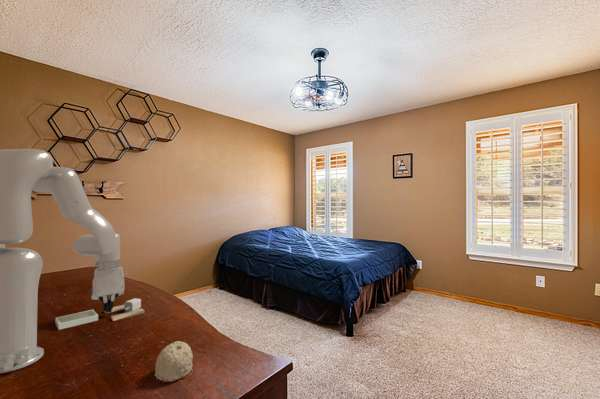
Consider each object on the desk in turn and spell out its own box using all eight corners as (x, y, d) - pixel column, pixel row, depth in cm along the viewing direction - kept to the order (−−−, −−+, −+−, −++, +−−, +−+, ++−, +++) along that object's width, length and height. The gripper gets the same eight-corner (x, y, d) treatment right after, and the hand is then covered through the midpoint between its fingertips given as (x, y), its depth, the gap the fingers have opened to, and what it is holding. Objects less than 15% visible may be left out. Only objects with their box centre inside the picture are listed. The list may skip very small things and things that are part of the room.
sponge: (193, 384, 78) (201, 343, 83) (183, 382, 70) (192, 337, 76) (159, 384, 77) (168, 343, 83) (144, 382, 70) (156, 337, 75)
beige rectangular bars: (144, 313, 116) (144, 310, 116) (113, 320, 108) (113, 318, 108) (133, 304, 126) (133, 302, 126) (103, 311, 118) (103, 308, 118)
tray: (98, 320, 109) (98, 314, 109) (58, 329, 101) (58, 324, 101) (93, 314, 114) (93, 309, 114) (55, 323, 106) (55, 317, 106)
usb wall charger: (140, 308, 122) (141, 298, 122) (127, 314, 115) (127, 304, 115) (133, 307, 123) (133, 298, 123) (118, 313, 116) (119, 303, 116)
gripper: (87, 269, 105) (86, 320, 105) (132, 263, 116) (132, 309, 116) (83, 266, 110) (82, 314, 110) (127, 260, 121) (126, 304, 121)
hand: (108, 311), depth 113 cm, fingers closed
